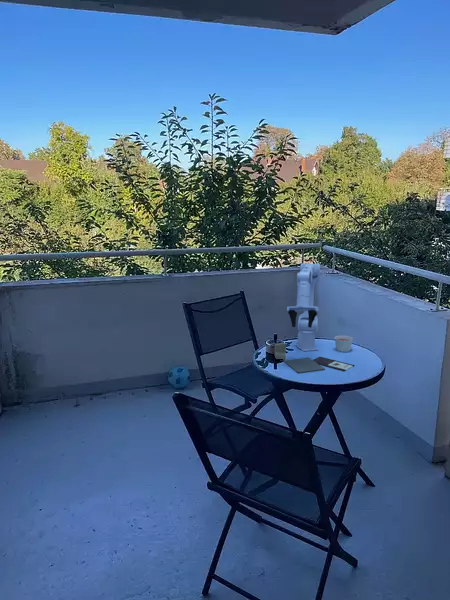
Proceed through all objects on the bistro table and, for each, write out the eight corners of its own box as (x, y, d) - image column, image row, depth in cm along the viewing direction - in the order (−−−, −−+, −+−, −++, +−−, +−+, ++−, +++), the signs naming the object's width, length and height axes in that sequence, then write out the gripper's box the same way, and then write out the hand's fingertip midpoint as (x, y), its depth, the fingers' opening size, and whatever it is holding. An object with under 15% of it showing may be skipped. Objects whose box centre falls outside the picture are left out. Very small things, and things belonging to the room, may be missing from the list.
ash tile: (274, 359, 200) (274, 343, 199) (284, 358, 202) (284, 342, 200) (275, 360, 199) (275, 344, 197) (285, 359, 200) (285, 343, 198)
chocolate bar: (319, 356, 202) (354, 365, 190) (319, 358, 202) (354, 367, 190) (309, 361, 196) (344, 370, 183) (309, 363, 196) (344, 372, 184)
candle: (339, 346, 219) (339, 334, 217) (355, 349, 213) (356, 337, 212) (330, 350, 212) (331, 338, 211) (347, 354, 206) (348, 341, 205)
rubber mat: (283, 361, 197) (283, 360, 197) (308, 358, 201) (308, 357, 201) (298, 373, 182) (298, 372, 182) (324, 370, 186) (325, 368, 186)
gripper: (285, 295, 189) (283, 325, 187) (315, 295, 182) (314, 326, 179) (291, 299, 195) (289, 327, 193) (321, 298, 188) (319, 328, 185)
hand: (301, 327), depth 186 cm, fingers open, 7 cm apart
